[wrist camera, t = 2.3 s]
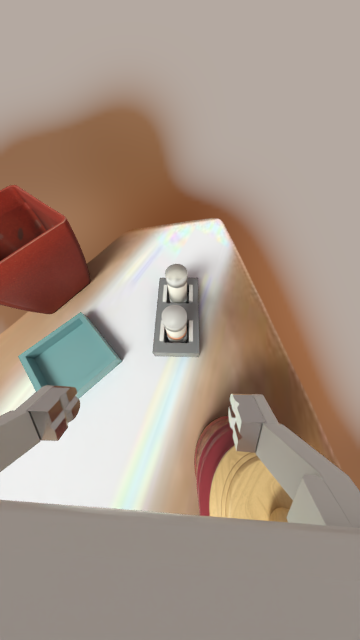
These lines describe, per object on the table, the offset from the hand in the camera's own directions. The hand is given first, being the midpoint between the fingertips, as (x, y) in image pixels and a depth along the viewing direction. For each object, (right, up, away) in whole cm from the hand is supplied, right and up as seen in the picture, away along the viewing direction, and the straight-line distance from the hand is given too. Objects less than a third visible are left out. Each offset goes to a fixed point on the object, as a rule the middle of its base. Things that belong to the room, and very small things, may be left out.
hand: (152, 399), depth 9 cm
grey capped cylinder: (+1, +1, +28) cm, 28 cm away
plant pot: (-31, +13, +35) cm, 48 cm away
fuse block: (+1, +5, +30) cm, 30 cm away
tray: (-20, -4, +26) cm, 34 cm away
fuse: (+1, +9, +32) cm, 33 cm away
